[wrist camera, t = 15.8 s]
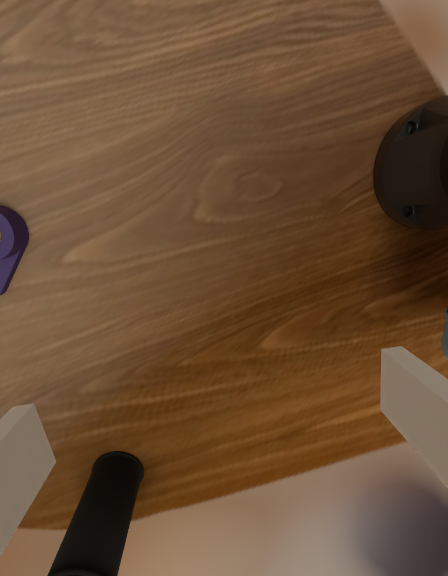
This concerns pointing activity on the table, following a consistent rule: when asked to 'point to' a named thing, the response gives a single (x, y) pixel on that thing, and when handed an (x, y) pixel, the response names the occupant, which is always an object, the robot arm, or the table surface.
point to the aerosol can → (101, 519)
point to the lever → (11, 244)
